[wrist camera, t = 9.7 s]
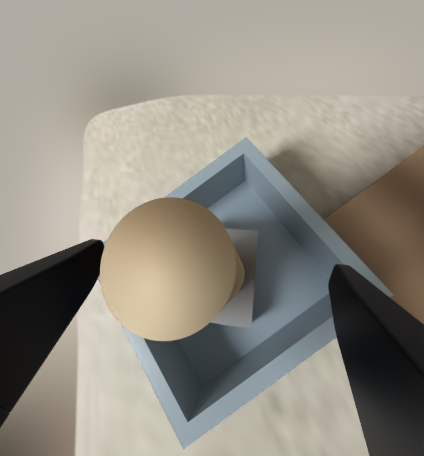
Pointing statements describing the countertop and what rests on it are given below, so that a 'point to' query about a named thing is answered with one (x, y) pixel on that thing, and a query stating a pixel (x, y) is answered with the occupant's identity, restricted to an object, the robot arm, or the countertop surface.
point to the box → (262, 302)
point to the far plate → (390, 231)
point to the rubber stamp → (178, 270)
